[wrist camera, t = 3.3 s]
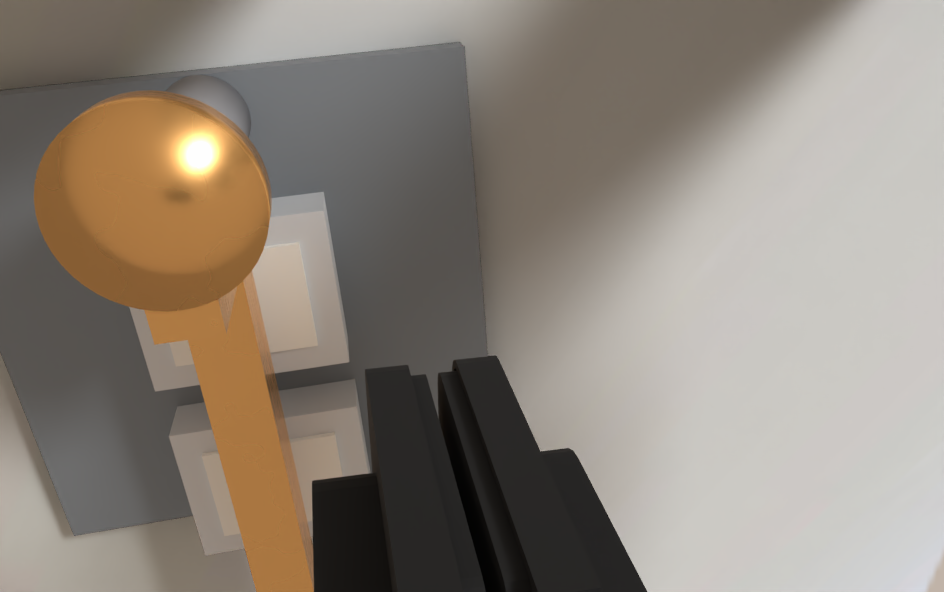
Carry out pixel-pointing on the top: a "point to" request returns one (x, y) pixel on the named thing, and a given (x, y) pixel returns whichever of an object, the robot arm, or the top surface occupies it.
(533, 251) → the top surface
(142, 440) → the sled board
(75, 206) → the orange crank handle
